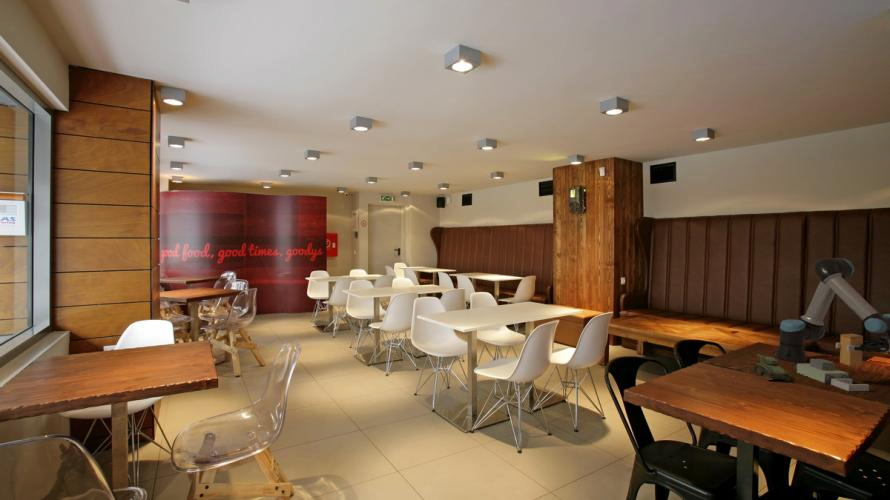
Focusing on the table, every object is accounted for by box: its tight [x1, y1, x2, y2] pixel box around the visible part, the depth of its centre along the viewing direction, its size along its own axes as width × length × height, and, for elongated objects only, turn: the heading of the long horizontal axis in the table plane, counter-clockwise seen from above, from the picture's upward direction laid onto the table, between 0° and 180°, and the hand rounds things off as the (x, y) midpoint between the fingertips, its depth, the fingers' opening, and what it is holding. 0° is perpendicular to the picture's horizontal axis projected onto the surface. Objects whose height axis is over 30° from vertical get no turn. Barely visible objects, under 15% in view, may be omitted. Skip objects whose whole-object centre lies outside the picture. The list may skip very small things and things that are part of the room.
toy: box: [754, 353, 791, 382], centre depth 230 cm, size 10×18×10 cm, turn 175°
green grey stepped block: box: [793, 358, 870, 392], centre depth 225 cm, size 29×13×9 cm, turn 4°
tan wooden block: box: [839, 333, 864, 366], centre depth 225 cm, size 5×7×15 cm
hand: (842, 347), depth 224 cm, fingers closed on tan wooden block, 5 cm apart
